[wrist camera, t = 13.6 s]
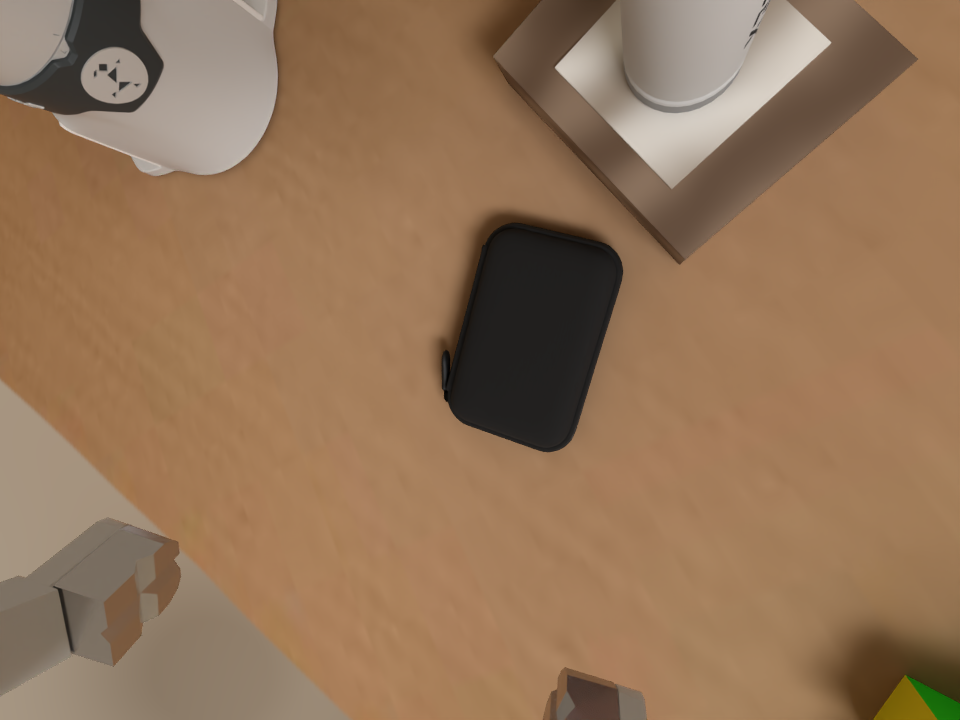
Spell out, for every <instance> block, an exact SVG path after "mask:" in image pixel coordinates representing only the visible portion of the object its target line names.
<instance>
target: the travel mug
mask: <svg viewBox="0 0 960 720" xmlns="http://www.w3.org/2000/svg"><path fill="white" fill-rule="evenodd" d="M769 3H770V0H620V7H621V26H622V44H623V63H624V72H625V77H626V80H627V83H628V85H629V87H630V89H631V91H632V92H633V93H634V95H635V96H636V97H637V98H638V99H639V100H640V101H641V102H642V103H643V104H645V105H647V106H648V107H650V108H652V109H654V110H658V111H661V112H665V113H682V112H689V111H692V110H695V109H698V108H701V107H703V106H705V105H707V104H709V103H711V102H712V101H714V100H715V99H716V98H717V97H719V96H720V95H721V94H723V93H724V91H725V90H726V89H727V88H728V87H729V86H730V85H731V84H732V82H733V81H734V79H735V78H736V76H737V75H738V73H739V71H740V69H741V66H742V64H743V62H744V60H745V57H746V55H747V53H748V51H749V48H750V46H751V44H752V41H753V39H754V37H755V35H756V32H757V30H758V28H759V25H760V23H761V21H762V19H763V16H764V14H765V12H766V10H767V7H768V5H769Z"/></svg>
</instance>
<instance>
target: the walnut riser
mask: <svg viewBox="0 0 960 720" xmlns="http://www.w3.org/2000/svg"><path fill="white" fill-rule="evenodd" d="M493 57H494V59H495V61H496V63H497V64H498V66H499V68H500V70H501V71H502V73H503V75H504V76H505V78H506V80H507V82H508V83H509V84H510V85H511V87H512V88H513V89H514V90H515V91H516V92H517V93H518V94H519V95H520V96H521V97H522V98H523V99H524V100H525V101H526V102H527V103H528V105H529V106H530V107H531V108H532V109H533V110H534V111H535V112H536V113H537V114H538V115H539V116H540V117H541V118H542V119H543V120H544V121H545V123H546V124H547V125H548V126H549V127H550V128H551V129H552V130H553V131H554V132H555V133H556V134H557V135H558V136H559V137H560V138H561V139H562V141H563V142H564V143H565V144H566V145H567V146H568V147H569V148H570V149H571V150H572V151H573V152H574V153H575V154H576V155H577V156H578V157H579V159H580V160H581V161H582V162H583V163H584V164H585V165H586V166H587V167H588V168H589V169H590V170H591V171H592V172H593V173H594V174H595V175H596V177H597V178H598V179H599V180H600V181H601V182H602V183H603V184H604V185H605V186H606V187H607V188H608V189H609V190H610V191H611V192H612V193H613V195H614V196H615V197H616V198H617V199H618V200H619V201H620V202H621V203H622V204H623V205H624V206H625V207H626V208H627V209H628V210H629V211H630V213H631V214H632V215H633V216H634V217H635V218H636V219H637V220H638V221H639V222H640V223H641V224H642V225H643V226H644V227H645V228H646V229H647V231H648V232H649V233H650V234H651V235H652V236H653V237H654V238H655V239H656V240H657V241H658V242H659V243H660V244H661V245H662V246H663V247H664V249H665V250H666V251H667V252H668V253H669V254H670V255H671V256H672V257H673V258H674V259H675V260H676V261H677V262H678V263H679V264H681V263H682V262H683V261H684V260H686V259H687V258H688V257H689V256H690V255H691V254H692V253H694V252H695V251H696V250H697V249H698V248H699V247H701V246H702V245H703V244H704V243H705V242H706V241H708V240H709V239H710V238H711V237H712V236H713V235H715V234H716V233H717V232H718V231H719V230H720V229H722V228H723V227H724V226H725V225H726V224H727V223H729V222H730V221H731V220H732V219H733V218H734V217H736V216H737V215H738V214H739V213H740V212H741V211H743V210H744V209H745V208H746V207H747V206H748V205H750V204H751V203H752V202H753V201H754V200H755V199H757V198H758V197H759V196H760V195H761V194H762V193H764V192H765V191H766V190H767V189H768V188H769V187H771V186H772V185H773V184H774V183H775V182H776V181H778V180H779V179H780V178H781V177H782V176H783V175H785V174H786V173H787V172H788V171H789V170H790V169H792V168H793V167H794V166H795V165H796V164H797V163H799V162H800V161H801V160H802V159H803V158H804V157H806V156H807V155H808V154H809V153H810V152H811V151H813V150H814V149H815V148H816V147H817V146H818V145H820V144H821V143H822V142H823V141H824V140H825V139H827V138H828V137H829V136H830V135H831V134H832V133H834V132H835V131H836V130H837V129H838V128H839V127H841V126H842V125H843V124H844V123H845V122H846V121H848V120H849V119H850V118H851V117H852V116H853V115H855V114H856V113H857V112H858V111H859V110H860V109H861V108H863V107H864V106H865V105H866V104H867V103H868V102H870V101H871V100H872V99H873V98H874V97H875V96H877V95H878V94H879V93H880V92H881V91H882V90H884V89H885V88H886V87H887V86H888V85H889V84H890V83H892V82H893V81H894V80H895V79H896V78H897V77H898V76H900V75H901V74H902V73H903V72H904V71H905V70H906V69H908V68H909V67H910V66H911V65H912V64H913V63H914V62H916V61H917V60H918V58H916V57H915V56H914V55H913V54H912V53H911V52H910V51H909V50H908V49H907V48H906V47H904V46H903V45H902V44H901V43H900V42H899V41H898V40H897V39H896V38H895V37H893V36H892V35H891V34H890V33H889V32H888V31H887V30H886V29H885V28H884V27H883V26H881V25H880V24H879V23H878V22H877V21H876V20H875V19H874V18H873V17H872V16H871V15H869V14H868V13H867V12H866V11H865V10H864V9H863V8H862V7H861V6H860V5H859V4H857V3H856V2H855V1H854V0H770V3H769V5H768V7H767V10H766V12H765V14H764V16H763V19H762V21H761V23H760V25H759V28H758V30H757V32H756V35H755V37H754V39H753V41H752V44H751V46H750V48H749V51H748V53H747V55H746V57H745V60H744V62H743V64H742V66H741V69H740V71H739V73H738V75H737V76H736V78H735V79H734V81H733V82H732V84H731V85H730V86H729V87H728V88H727V89H726V90H725V91H724V93H723V94H721V95H720V96H719V97H717V98H716V99H715V100H714V101H712V102H711V103H709V104H707V105H705V106H703V107H701V108H698V109H695V110H692V111H689V112H682V113H665V112H661V111H658V110H654V109H652V108H650V107H648V106H647V105H645V104H643V103H642V102H641V101H640V100H639V99H638V98H637V97H636V96H635V95H634V93H633V92H632V91H631V89H630V87H629V85H628V83H627V80H626V77H625V72H624V63H623V44H622V26H621V7H620V0H541V1H540V3H539V4H538V5H537V6H536V7H535V8H534V10H533V11H532V12H531V13H530V14H529V15H528V16H527V18H526V19H525V20H524V21H523V22H522V23H521V25H520V26H519V27H518V28H517V29H516V30H515V31H514V33H513V34H512V35H511V36H510V37H509V38H508V39H507V41H506V42H505V43H504V44H503V45H502V46H501V48H500V49H499V50H498V51H497V52H496V53H495V54H494V56H493Z"/></svg>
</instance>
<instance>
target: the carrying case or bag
mask: <svg viewBox="0 0 960 720" xmlns="http://www.w3.org/2000/svg"><path fill="white" fill-rule="evenodd" d="M622 276H623V266H622V262H621V260H620V257H619V256H618V254H617V253H616V252H615V250H614V249H612V248H611V247H610V246H609V245H607V244H605V243H602V242H598V241H594V240H589V239H585V238H581V237H577V236H572V235H568V234H564V233H560V232H555V231H551V230H547V229H543V228H539V227H534V226H530V225H526V224H522V223H510V224H506V225H503V226H501V227H500V228H498V229H497V230H495V231H494V232H493V233H492V234H491V235H490V237H489V238H488V240H487V242H486V244H485V245H483V247H482V252H481V256H480V260H479V264H478V268H477V271H476V275H475V279H474V283H473V287H472V291H471V294H470V298H469V302H468V306H467V310H466V314H465V317H464V321H463V325H462V329H461V333H460V337H459V340H458V344H457V348H456V352H455V356H454V360H453V363H452V367H451V371H450V354H449V351H448V350H445V351H444V352H443V355H442V389H443V390H444V399H445V400H446V402H448V403H449V407H450V409H451V411H452V413H453V414H454V415H455V417H456V418H457V419H458V420H459V421H461V422H462V423H464V424H466V425H468V426H471V427H474V428H477V429H480V430H482V431H485V432H488V433H491V434H494V435H496V436H499V437H502V438H505V439H508V440H511V441H513V442H516V443H519V444H522V445H525V446H528V447H530V448H533V449H536V450H539V451H543V452H553V451H557V450H560V449H562V448H563V447H565V446H566V445H567V444H568V443H569V442H570V441H571V440H572V438H573V436H574V434H575V431H576V428H577V425H578V422H579V419H580V415H581V412H582V409H583V406H584V402H585V399H586V396H587V392H588V389H589V386H590V383H591V379H592V376H593V373H594V369H595V366H596V363H597V360H598V356H599V353H600V350H601V347H602V343H603V340H604V337H605V334H606V331H607V327H608V324H609V321H610V318H611V314H612V311H613V308H614V305H615V302H616V298H617V295H618V292H619V288H620V285H621V281H622Z"/></svg>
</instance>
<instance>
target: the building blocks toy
mask: <svg viewBox="0 0 960 720" xmlns="http://www.w3.org/2000/svg"><path fill="white" fill-rule="evenodd" d="M873 720H960V703H958V702H956V701H954V700H952V699H950V698H949V697H947V696H945V695H943V694H941V693H939V692H937V691H935V690H933V689H931V688H929V687H928V686H926V685H924V684H922V683H920V682H918V681H916V680H914V679H912V678H910V677H908V676H906V675H905V676H904V677H903V678H902V680H901V681H900V683H899V684H898V685H897V687H896V688H895V689H894V691H893V692H892V694H891V695H890V696H889V698H888V699H887V701H886V702H885V703H884V705H883V706H882V708H881V709H880V710H879V712H878V713H877V715H876V716H875V717H874V719H873Z"/></svg>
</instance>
